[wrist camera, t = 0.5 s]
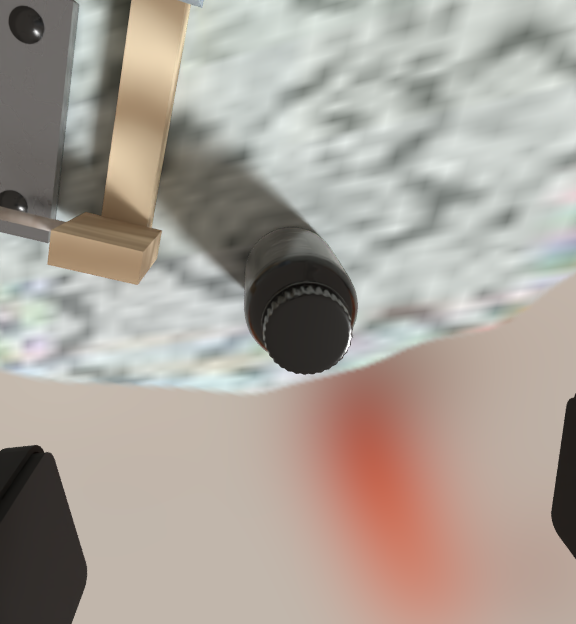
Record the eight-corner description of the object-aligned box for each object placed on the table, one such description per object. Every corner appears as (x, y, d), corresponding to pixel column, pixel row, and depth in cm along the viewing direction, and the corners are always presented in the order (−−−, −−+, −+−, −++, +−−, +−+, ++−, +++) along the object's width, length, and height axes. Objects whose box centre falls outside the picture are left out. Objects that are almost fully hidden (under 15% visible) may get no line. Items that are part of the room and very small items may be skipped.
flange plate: (-8, -22, 30) (-17, -27, 29) (79, 4, 30) (73, 0, 29) (-22, 222, 34) (-30, 225, 33) (53, 239, 35) (47, 243, 34)
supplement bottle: (233, 299, 38) (225, 373, 26) (261, 213, 36) (264, 253, 24) (318, 324, 39) (344, 405, 28) (350, 242, 37) (392, 293, 25)
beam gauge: (45, -117, 28) (-30, -204, 21) (219, -59, 30) (207, -120, 22) (17, 224, 35) (-48, 251, 27) (160, 258, 36) (136, 292, 29)
